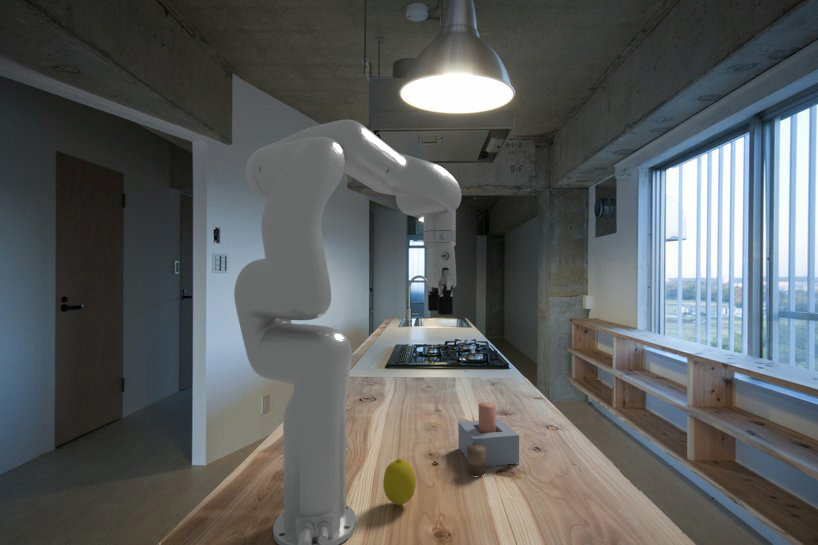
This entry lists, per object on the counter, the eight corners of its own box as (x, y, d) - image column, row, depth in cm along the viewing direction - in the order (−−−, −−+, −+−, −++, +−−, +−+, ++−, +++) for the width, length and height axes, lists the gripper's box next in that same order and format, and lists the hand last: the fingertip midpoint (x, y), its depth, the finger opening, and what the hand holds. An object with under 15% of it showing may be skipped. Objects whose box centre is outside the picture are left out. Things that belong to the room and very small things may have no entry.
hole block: (519, 464, 91) (519, 435, 91) (473, 468, 89) (473, 438, 89) (500, 445, 100) (500, 419, 100) (458, 448, 99) (458, 421, 98)
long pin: (498, 458, 93) (498, 407, 93) (482, 459, 93) (482, 408, 93) (491, 451, 97) (491, 402, 97) (476, 452, 96) (476, 403, 96)
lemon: (397, 493, 79) (397, 449, 79) (422, 504, 75) (422, 458, 75) (376, 506, 74) (376, 460, 74) (401, 518, 71) (401, 469, 71)
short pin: (488, 476, 85) (488, 450, 85) (470, 478, 85) (470, 452, 85) (481, 468, 89) (481, 443, 89) (464, 469, 88) (464, 445, 88)
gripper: (466, 237, 95) (466, 316, 95) (445, 242, 112) (445, 309, 112) (432, 236, 93) (433, 316, 93) (416, 242, 110) (416, 309, 110)
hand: (439, 312), depth 103 cm, fingers open, 9 cm apart
